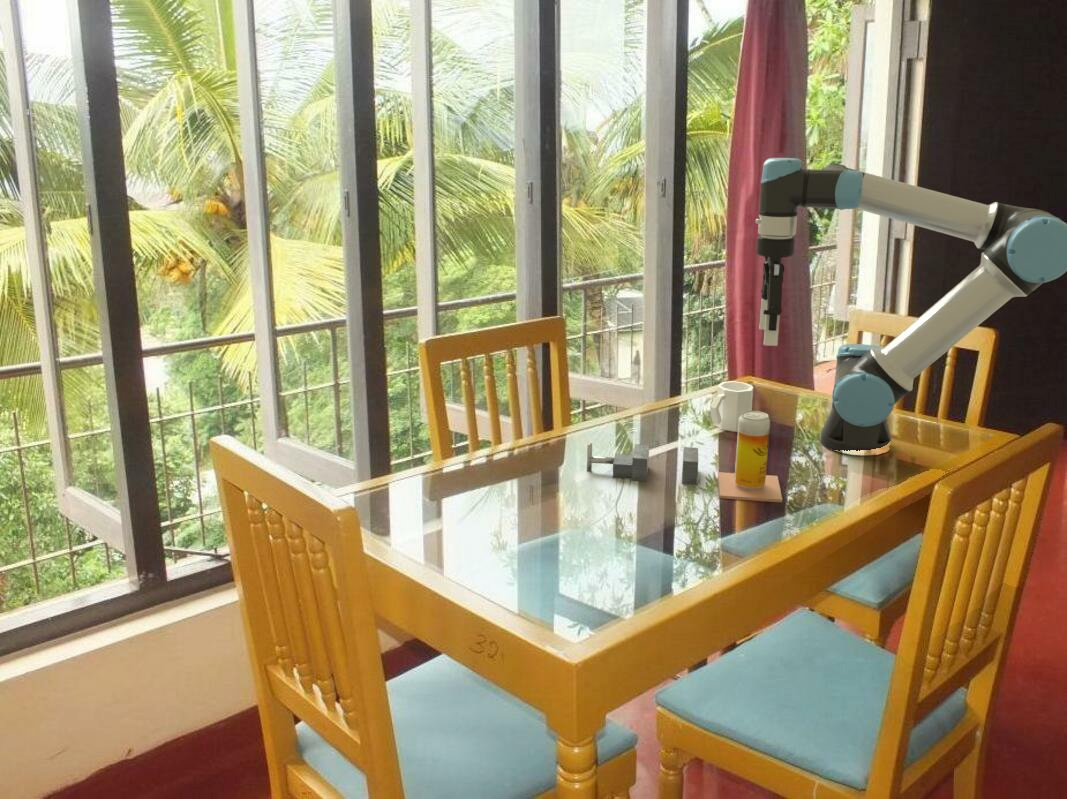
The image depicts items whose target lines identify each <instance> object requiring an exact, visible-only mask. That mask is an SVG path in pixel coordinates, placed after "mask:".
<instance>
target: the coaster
mask: <svg viewBox="0 0 1067 799" xmlns="http://www.w3.org/2000/svg"><path fill="white" fill-rule="evenodd" d="M717 474H718V475H717V478H718V491H719V492H718V493H719V499H727V500H739V501H740V500H743V501H756V502H769V503H783V495H782V490H781V486H780V481H779V477H778V475H772V474H771V475H768V474H766V479H765V484H764V485H763V486H762V488H761V489H758V490H745V489H742V488H740V487H738V486H737V484H736V483H735V481H734V477H735V472H720V471H719V472H718V473H717Z"/></svg>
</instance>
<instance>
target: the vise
mask: <svg viewBox="0 0 1067 799" xmlns="http://www.w3.org/2000/svg"><path fill="white" fill-rule="evenodd" d="M586 450H587V451H586V472H592V468H593V467H592V466H593V464H604V465H612V478H616V479H617V478H618V479H631V481H632V482H633V481H634V482H647V481H648V472H649V470H648V469H649V458H650V444H637V443H635V444H634V448H633V453H631V454H630V453H629V454H628V453H627V454H626V453H615V454H614V457H613V456H612V457H610V456H597V455H596V456H594V455H593V443H592V442H588V443H587V448H586ZM682 453H683V454H682V467H681V468H682V472H681V475H682V476H681V484H682V485H693V486H694V485H696V486H697V485H698V471H699V447H689V446H688V447H687V446H683V452H682Z"/></svg>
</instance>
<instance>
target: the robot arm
mask: <svg viewBox="0 0 1067 799" xmlns="http://www.w3.org/2000/svg"><path fill="white" fill-rule="evenodd" d="M802 164H803V163H802V160H801V159H800V158H796V157H792V158H791V157H769V158H767V159H765V161H764V162H763V166H762V175H761V179H760V180H761V181H760V195H759V211H758V213H759V215H758V217H759V218H756V219H755V224H757V225H758V226H757V227H758V228H757V229H758V230H757V233H758V234H759V236H758V237H757V238H756V250H755V253H756V254H757V255H758V256H760V257H764V258H765V260H764V261H765V262H763V266H762V286H761V290H760V293H761V301H760V302H761V303H760V315H759V324H758V325H759V326H758V328H759V330H764V332H763V334H764V335H763V346H770V347H771V346H774V347H777V346H778V345H779V344H778V342H779V330H780V320H781V314H782V312H783V309H782V303H783V302H782V299H783V297H782V296H783V294H782V293H783V282H784V273H785V265H784V263H782V258H791V257H792V256H794V253H795V245H796V243H795V242H796V240H795V238H794V237H793V236H795V235H796V234H797V223H798V222H797V221H798V209H799V208H804V209H805V208H817V209H834V210H840V211H843V210H855V209H856V210H859V211H862V212H866V213H870V214H874V215H877V216H881V217H884V218H889V219H892V220H894V221H899V222H902V223H906V224H909V225H913V226H916V227H920V228H923V229H927V230H930V231H934V232H937V233H941V234H945V235H949V236H952V237H955V238H959V239H963V240H966V241H970V242H973V243H974V245H975V246H976V248H977V249H980V250H983V252H981V257H980V264H979V265H978V266H977V267H976V268H974V270H973V271H972V272H970V273H969V274H968V275H967V276H965V278H963V279H962V280H961V281H960V282H959V283H958V284H956V285H955V286H954V287H953V288H951V290H949V291H948V292H947V293H946V294H945V295H944V296H943V297H942V298H940V299H939V300H938V301H936V302H935V303H934V304H933V305H932V306H931V307H929V308H928V309H927V310H926V311H925V312H924V313H923V314H922V315H921V316H919V317H918V318H917V319H916V320H914V321H913V322H912V323H911V324H910V325H909V326H908V327H906V328H905V329H904V330H903V331H902V332H900V333H899V334H898V335H897V336H896V337H895V338H894V339H892V340H891V341H890V342H889V343H888V344H886V345H885V346H880V345H875V344H873V345H872V344H861V343H859V344H858V343H848V344H843V345H841V346H839V348H838V349H837V355H836V357H835V359H836V363H835V364H836V365H835V373H834V374H835V375H834V384H833V390H832V395H831V396H832V402H831V403H832V404H831V410H830V412H829V413H828V417H827V418H826V421H824V422H825V423H824V424H823V427H822V429H821V432H820V439H819V441H820V444H821V445H822V446H823V447H825V448H826V449H829V450H830V449H832V450H831V451H833V450H838V451H840V450H844V451H845V450H846V451H848V450H849V451H850V450H856V451H858V450H859V451H860V450H871V449H876V448H881V447H883V446H885V445H887V444H888V443H889V442H890V441H891V442H892V435H891V432H890V427H889V422H888V419H887V418H888V417H890V415H891V414H892V411H893V410H894V407H895V405H896V404H897V403H898V402H900V401H901V400H903V399H904V397H906V396H907V395H908V394H909V393H910V392H911V391H913V388H914V387H913V386H914V379H915V378H916V377H918V376H919V375H920V374H922V372H924V371H925V370H926V369H928V368H929V367H930V366H931V365H933V363H935V362H936V361H937V360H939V359H940V358H941V357H942V356H943V355H944V354H946V353H947V352H948V351H949V350H950V349H952V348H953V347H954V346H955V345H957V344H958V343H959V342H960V341H961V340H962V339H964V338H965V337H967V336H968V335H969V334H970V333H971V332H972V331H973V330H974V329H975V330H976V328H977V327H979V325H981V324H982V323H983V322H984V321H986V320H987V319H988V318H989V317H991V315H993V314H994V313H995V312H996V311H998V310H999V309H1000V308H1001V307H1002V306H1004V305H1005V304H1006V303H1007V302H1009V301H1010V300H1011V299H1012V298H1017V297H1020V298H1021V297H1026V298H1027V296H1029V295H1030V294H1031V293H1032V292H1033V291H1035V290H1037V288H1038V287H1040V286H1041V285H1043V284H1044V283H1048V282H1051V281H1054V280H1057V279H1058V278H1060V277H1062V275H1064V274H1065V273H1067V222H1064V221H1063V220H1062V219H1061V218H1059V217H1057V216H1055V215H1053V214H1052V213H1050V212H1048V211H1045V210H1042V209H1037V208H1029V207H1021V206H1015V205H1011V204H1005V203H1001V202H998V201H995V202H992V203H990V204H985V203H982V202H978V201H973V200H970V199H967V198H966V199H965V198H962V197H959V196H954V195H951V194H947V193H944V192H940V191H937V190H933V189H928V188H925V187H921V186H918V185H913V184H910V183H907V182H903V181H898V180H895V179H891V178H889V177H888V178H886V177H883V176H880V175H876V174H873V173H872V174H871V173H868V172H863V171H861V170H857V169H853V168H849V167H847V166H846V165H844V164H841V163H831V164H828V165H826V166H824V167H823V168H821V169H810V168H809V169H808V168H803V165H802Z"/></svg>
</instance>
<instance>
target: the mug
mask: <svg viewBox="0 0 1067 799" xmlns="http://www.w3.org/2000/svg"><path fill="white" fill-rule="evenodd" d="M753 396H754V386H753V385H751V384H750V383H747V382H740V381H735V380H731V381H721V382H720V383H719V384H718V385H717V387H716V396H715V398H714V399H713V401H712V403H711V404H710V405H709V408H710V416H711V422H712V423H713V424H714V426H716V427H717V428H718V429H720V430H721V431H728V432H733V433H738V421H739V418H740V416H741V413H742V412H745V411H753V409H752V408H753Z"/></svg>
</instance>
